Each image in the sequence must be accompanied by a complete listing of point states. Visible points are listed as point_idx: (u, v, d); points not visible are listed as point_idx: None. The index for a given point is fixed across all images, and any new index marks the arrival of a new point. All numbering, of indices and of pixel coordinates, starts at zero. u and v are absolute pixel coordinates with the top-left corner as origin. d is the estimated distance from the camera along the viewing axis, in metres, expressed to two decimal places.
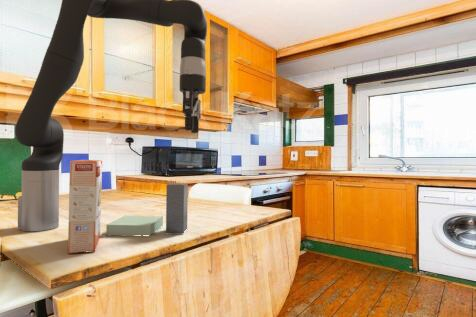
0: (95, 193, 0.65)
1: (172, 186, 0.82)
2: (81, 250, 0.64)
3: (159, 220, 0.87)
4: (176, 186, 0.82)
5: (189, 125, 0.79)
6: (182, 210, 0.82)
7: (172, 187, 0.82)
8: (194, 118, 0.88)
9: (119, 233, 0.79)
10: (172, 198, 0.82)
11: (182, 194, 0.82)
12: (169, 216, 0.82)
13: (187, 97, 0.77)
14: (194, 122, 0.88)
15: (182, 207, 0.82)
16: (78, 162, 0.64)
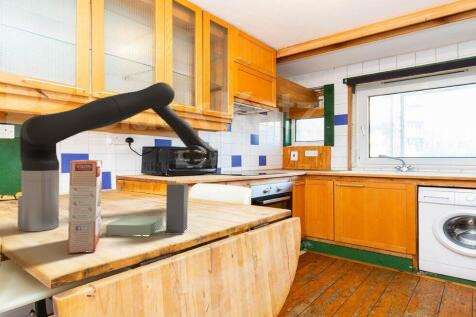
0: (95, 193, 0.65)
1: (172, 186, 0.82)
2: (81, 250, 0.64)
3: (159, 220, 0.87)
4: (176, 186, 0.82)
5: (202, 156, 0.96)
6: (182, 210, 0.82)
7: (172, 187, 0.82)
8: None
9: (119, 233, 0.79)
10: (172, 198, 0.82)
11: (182, 194, 0.82)
12: (170, 216, 0.82)
13: (210, 155, 1.03)
14: (176, 155, 0.98)
15: (182, 207, 0.82)
16: (78, 162, 0.64)
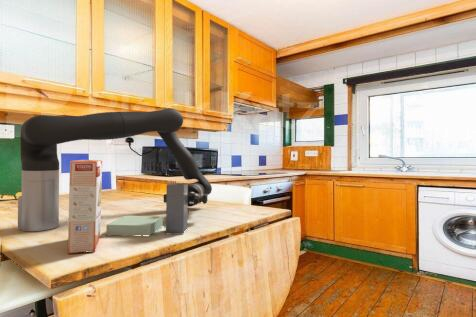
0: (95, 193, 0.65)
1: (172, 186, 0.82)
2: (81, 250, 0.64)
3: (159, 220, 0.87)
4: (176, 186, 0.82)
5: (199, 202, 0.91)
6: (182, 210, 0.82)
7: (172, 187, 0.82)
8: None
9: (119, 233, 0.79)
10: (172, 198, 0.82)
11: (182, 194, 0.82)
12: (170, 216, 0.82)
13: (207, 197, 0.98)
14: None
15: (182, 207, 0.82)
16: (78, 162, 0.64)
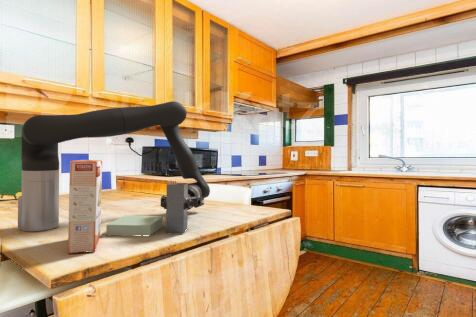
0: (95, 193, 0.65)
1: (172, 186, 0.82)
2: (81, 250, 0.64)
3: (159, 220, 0.87)
4: (176, 186, 0.82)
5: (189, 206, 0.83)
6: (182, 210, 0.82)
7: (172, 187, 0.82)
8: None
9: (119, 233, 0.79)
10: (172, 198, 0.82)
11: (182, 194, 0.82)
12: (170, 216, 0.82)
13: (202, 201, 0.90)
14: None
15: (182, 207, 0.82)
16: (78, 162, 0.64)
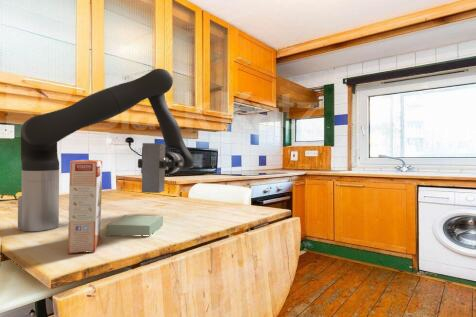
0: (95, 193, 0.65)
1: (148, 145, 0.81)
2: (81, 250, 0.64)
3: (159, 220, 0.87)
4: (152, 145, 0.81)
5: (165, 165, 0.82)
6: (158, 169, 0.81)
7: (148, 146, 0.81)
8: None
9: (119, 233, 0.79)
10: (148, 157, 0.81)
11: (158, 153, 0.81)
12: (145, 175, 0.82)
13: (180, 163, 0.89)
14: None
15: (158, 166, 0.81)
16: (78, 162, 0.64)
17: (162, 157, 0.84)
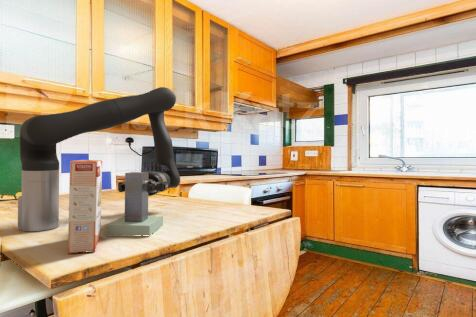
0: (95, 193, 0.65)
1: (131, 175, 0.82)
2: (81, 250, 0.64)
3: (159, 220, 0.87)
4: (134, 175, 0.82)
5: (153, 189, 0.84)
6: (140, 198, 0.82)
7: (131, 176, 0.82)
8: None
9: (119, 233, 0.79)
10: (131, 186, 0.82)
11: (140, 183, 0.82)
12: (128, 205, 0.82)
13: (166, 186, 0.91)
14: None
15: (140, 195, 0.82)
16: (78, 162, 0.64)
17: (145, 186, 0.85)
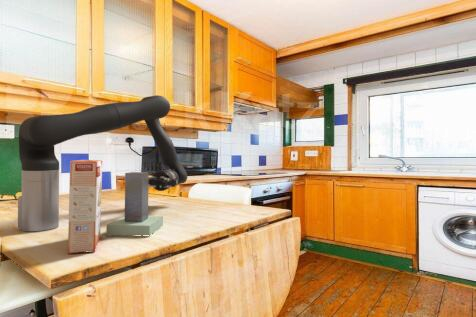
0: (95, 193, 0.65)
1: (131, 175, 0.82)
2: (81, 250, 0.64)
3: (159, 220, 0.87)
4: (134, 175, 0.82)
5: (166, 185, 0.96)
6: (140, 198, 0.82)
7: (131, 176, 0.82)
8: None
9: (119, 233, 0.79)
10: (131, 186, 0.82)
11: (140, 183, 0.82)
12: (128, 205, 0.82)
13: (176, 182, 1.04)
14: None
15: (140, 195, 0.82)
16: (78, 162, 0.64)
17: (145, 186, 0.85)
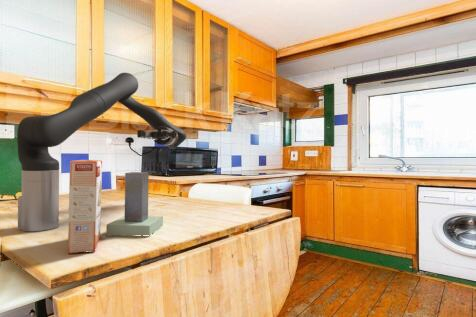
0: (95, 193, 0.65)
1: (131, 175, 0.82)
2: (81, 250, 0.64)
3: (159, 220, 0.87)
4: (134, 175, 0.82)
5: (167, 134, 1.04)
6: (140, 198, 0.82)
7: (131, 176, 0.82)
8: (144, 133, 1.07)
9: (119, 233, 0.79)
10: (131, 186, 0.82)
11: (140, 183, 0.82)
12: (128, 205, 0.82)
13: (176, 135, 1.11)
14: (144, 133, 1.06)
15: (140, 195, 0.82)
16: (78, 162, 0.64)
17: (145, 186, 0.85)
